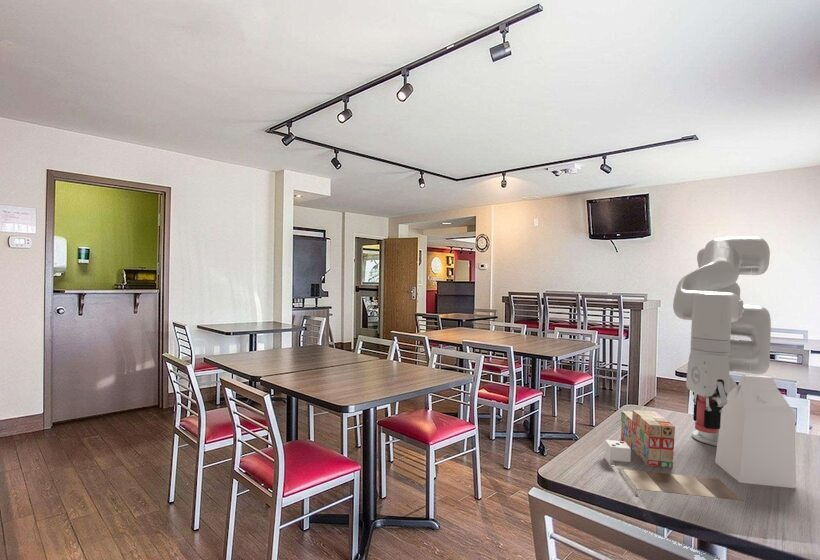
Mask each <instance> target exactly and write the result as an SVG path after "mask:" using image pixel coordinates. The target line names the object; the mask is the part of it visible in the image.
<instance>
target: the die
mask: <svg viewBox="0 0 820 560" xmlns="http://www.w3.org/2000/svg"><path fill="white" fill-rule="evenodd" d="M604 444H605V445H604V459H605V460H606V462H607V464H608V463H609V464H608V465H609V466H611V465H615V466H614V467H617V466H618V465H617V464H616V463H615V461H616V462H627V463H631V456H632V455H631V454H632V449H631V448H630V447H629V446H628V445H627V443H626V442H625V441H621V440H614V439H613V440H612V439H605V441H604Z"/></svg>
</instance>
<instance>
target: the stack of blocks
mask: <svg viewBox="0 0 820 560" xmlns="http://www.w3.org/2000/svg"><path fill="white" fill-rule="evenodd" d="M620 418H621V419H620V420H621V425H620V426H621V427H620V430H621V432H620V433H621V434H620V441H621V440H622V441H625V442H626V443H627V445H628V446H629V447H630V448H631V450H633V451H634V452H635V453H636V454H637V456H638V457H640V459H641V461H643V463H644V464H645V465H646V466H649V467H650V466H652V467H660V468H661V467H663V468H673V467H674V461H673V460H674V450H675V433H676V426H675V425H673V424H672V423H671V422H670V421H669V420H668V419H666V418H665V417H663V415H661V414H659V413H658V412H656V411H652V410H636V409H632V411H628V410H621V417H620Z"/></svg>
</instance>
